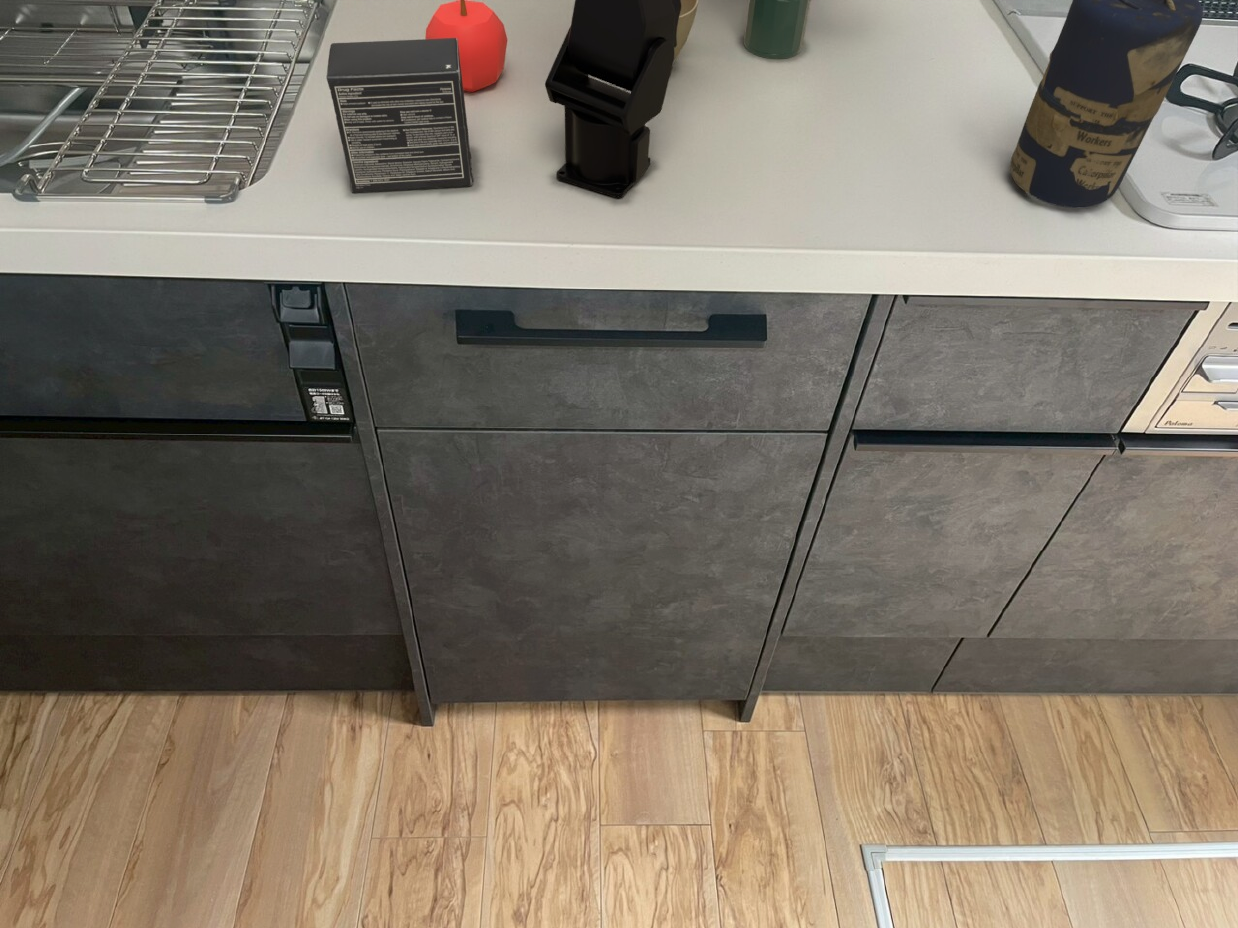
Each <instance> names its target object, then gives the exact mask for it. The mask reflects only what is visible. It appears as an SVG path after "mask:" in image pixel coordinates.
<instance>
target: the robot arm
mask: <svg viewBox="0 0 1238 928" xmlns="http://www.w3.org/2000/svg"><path fill="white" fill-rule="evenodd" d="M681 7H682V6H681V0H574V4H573V8H572V9H573V10H572V15H571V20H570V26H569V27H568V30H567V33H566V35H565V36H564V40H563V41H562V44H561V46H560V48H559V50H558V53H557V55H556V57H555V60H554V61H553V64H552V66H551V69H550V71H549V73H548V75H547V77H546V79H545V82H544V87H545V90H546V93H547V97H548V100H549V101H550V102H551V103H553V104H559V105H562V106H563V107H564V163H563V165H561V166H560V167H559V169H558V170H557V171H556V179H557V180H559V181H562V182H566V183H568V184H571V185H575V186H578V187H581V188H584V189H587V190H590V191H594V192H597V193H600V194H603V195H606V196H610V197H613V198H617V199H620V198H622V197H624V196H625V195H626V193H627V192H628V191H629V190H630V189H631V187H632V186H634V184H636V183H637V182H638V181H639V180H640V179H641V177H642V176H643V175H644V174H645V173H646V171H647V170H648V168H649V167H650V165H651V161H652V160H651V157H649V153H650V137H651V129H650V127H649V126H646V124H647V123H648V122H650V121H652V119H654V118H655V117H656V116H658V115H660V113H661V112H662V109H663V105H664V101H665V98H666V94H667V90H668V86H669V85H668V84H669V82H670V79H671V75H672V74H671V73H672V69H673V65H674V62H675V61H674V54H675V52H674V47H676V46H677V26H678V20H679V16H680V12H681ZM673 61H674V62H673ZM600 80H601V81H600Z"/></svg>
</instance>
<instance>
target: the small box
mask: <svg viewBox="0 0 1238 928" xmlns="http://www.w3.org/2000/svg"><path fill="white" fill-rule="evenodd" d="M327 60H328V61H327V69H326V77H325V78H326V81H327V85H328V88H329V91H330V96H331V97H330V98H331V100H332V104H333V109H334V110H333V111H334V114H335V119H336V124H337V129H338V133H339V138H340V142H341V146H342V150H343V155H344V160H345V166H346V169H347V174H348V178H349V187H350V193H355V194H356V193H357V194H358V193H373V192H388V191H389V192H390V191H403V190H405V191H406V190H422V189H438V188H439V189H440V188H456V187H457V188H460V187H461V188H462V187H471V186H472V185H473V184H474V177H473V173H472V171H473V168H472V154H471V148H470V139H469V129H468V128H469V127H468V120H467V110H466V101H465V93H464V92H465V91H464V90H463V83H462V74H461V65H460V57H459V48H458V39H457V38H443V39H425V38H424V39H423V38H422V39H421V38H419V39H401V40H400V39H398V40H376V41H353V42H332V43H331V44H330V47H329V52H328V59H327Z"/></svg>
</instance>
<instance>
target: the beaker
mask: <svg viewBox="0 0 1238 928" xmlns="http://www.w3.org/2000/svg"><path fill="white" fill-rule="evenodd" d="M811 1H812V0H748V4H747V12H746V19H745V27H744V33H743V34H744V35H743V37H744V38H743V45H744V48H745V49H746V50H747V52H750V53H751V54H753V55H755V56H758V57H761V58H765V59H771V60H784V59H789V58H792V57H795V56H797V55H798V54H799V53H800V52H801V50H802V48H803V44H804V39H805V35H806V29H807V24H808V17H809V13H810V6H811Z"/></svg>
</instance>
